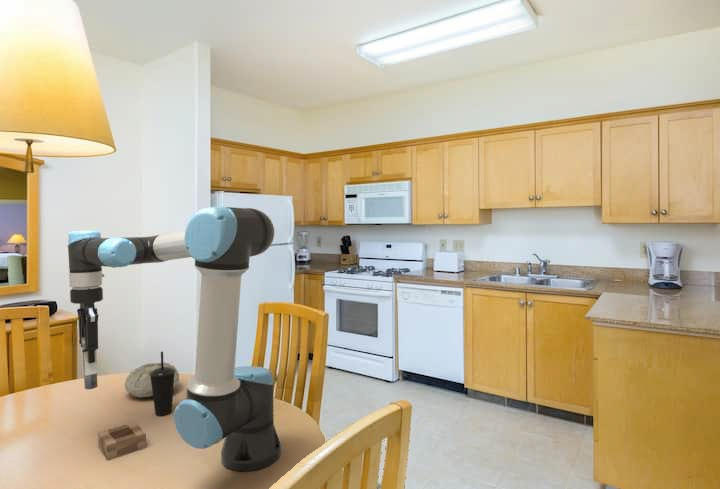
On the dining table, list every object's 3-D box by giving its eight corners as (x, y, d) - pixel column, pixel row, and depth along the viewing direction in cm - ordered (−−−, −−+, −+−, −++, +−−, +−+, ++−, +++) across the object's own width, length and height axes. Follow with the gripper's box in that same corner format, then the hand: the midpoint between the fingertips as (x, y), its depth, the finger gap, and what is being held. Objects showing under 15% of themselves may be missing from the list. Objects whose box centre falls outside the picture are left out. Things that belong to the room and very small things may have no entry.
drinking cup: (145, 415, 139) (143, 353, 138) (165, 406, 146) (164, 347, 145) (161, 420, 136) (159, 356, 135) (181, 410, 142) (180, 350, 142)
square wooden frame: (146, 447, 119) (145, 433, 119) (107, 460, 113) (106, 445, 112) (135, 435, 126) (135, 422, 126) (98, 447, 119) (98, 432, 119)
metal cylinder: (98, 387, 120) (95, 337, 119) (85, 390, 118) (82, 339, 117) (96, 384, 122) (94, 334, 121) (83, 387, 120) (80, 337, 120)
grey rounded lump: (175, 400, 151) (174, 372, 150) (118, 405, 147) (117, 376, 146) (183, 382, 168) (182, 356, 168) (133, 386, 164) (132, 360, 164)
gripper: (109, 288, 115) (112, 376, 116) (95, 283, 127) (98, 362, 128) (76, 291, 110) (79, 383, 111) (64, 285, 122) (68, 368, 123)
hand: (89, 372), depth 120 cm, fingers closed on metal cylinder, 3 cm apart
